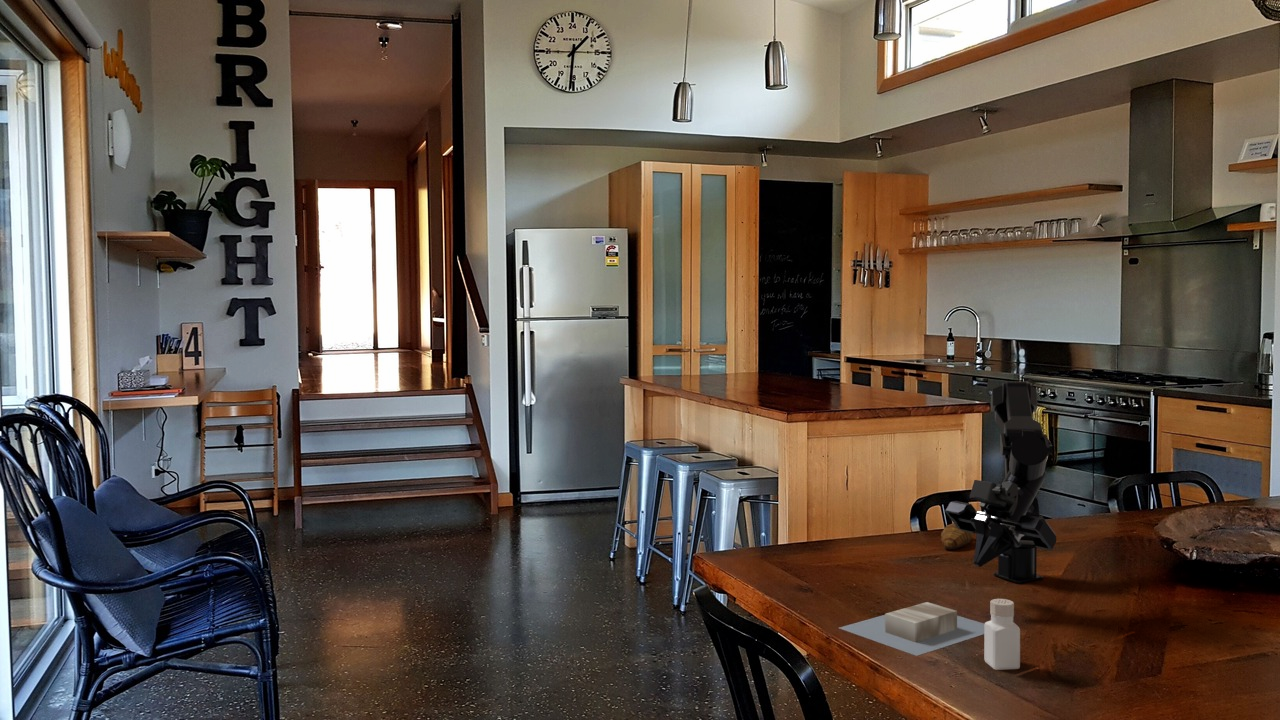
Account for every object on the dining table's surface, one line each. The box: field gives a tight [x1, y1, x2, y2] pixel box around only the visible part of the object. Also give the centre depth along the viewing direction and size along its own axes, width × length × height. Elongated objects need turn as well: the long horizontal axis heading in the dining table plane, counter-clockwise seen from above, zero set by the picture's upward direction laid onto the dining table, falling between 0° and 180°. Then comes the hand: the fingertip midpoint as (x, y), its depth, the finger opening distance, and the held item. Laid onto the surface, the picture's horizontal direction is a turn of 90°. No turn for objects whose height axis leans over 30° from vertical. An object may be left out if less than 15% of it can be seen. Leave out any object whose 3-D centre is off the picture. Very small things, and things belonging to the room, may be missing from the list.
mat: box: [838, 614, 985, 657], centre depth 163 cm, size 20×16×1 cm
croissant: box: [940, 522, 974, 550], centre depth 217 cm, size 14×7×5 cm, turn 148°
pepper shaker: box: [983, 598, 1021, 671], centre depth 146 cm, size 4×4×10 cm
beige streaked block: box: [884, 601, 958, 642], centre depth 161 cm, size 3×6×10 cm
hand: (976, 565), depth 169 cm, fingers closed
